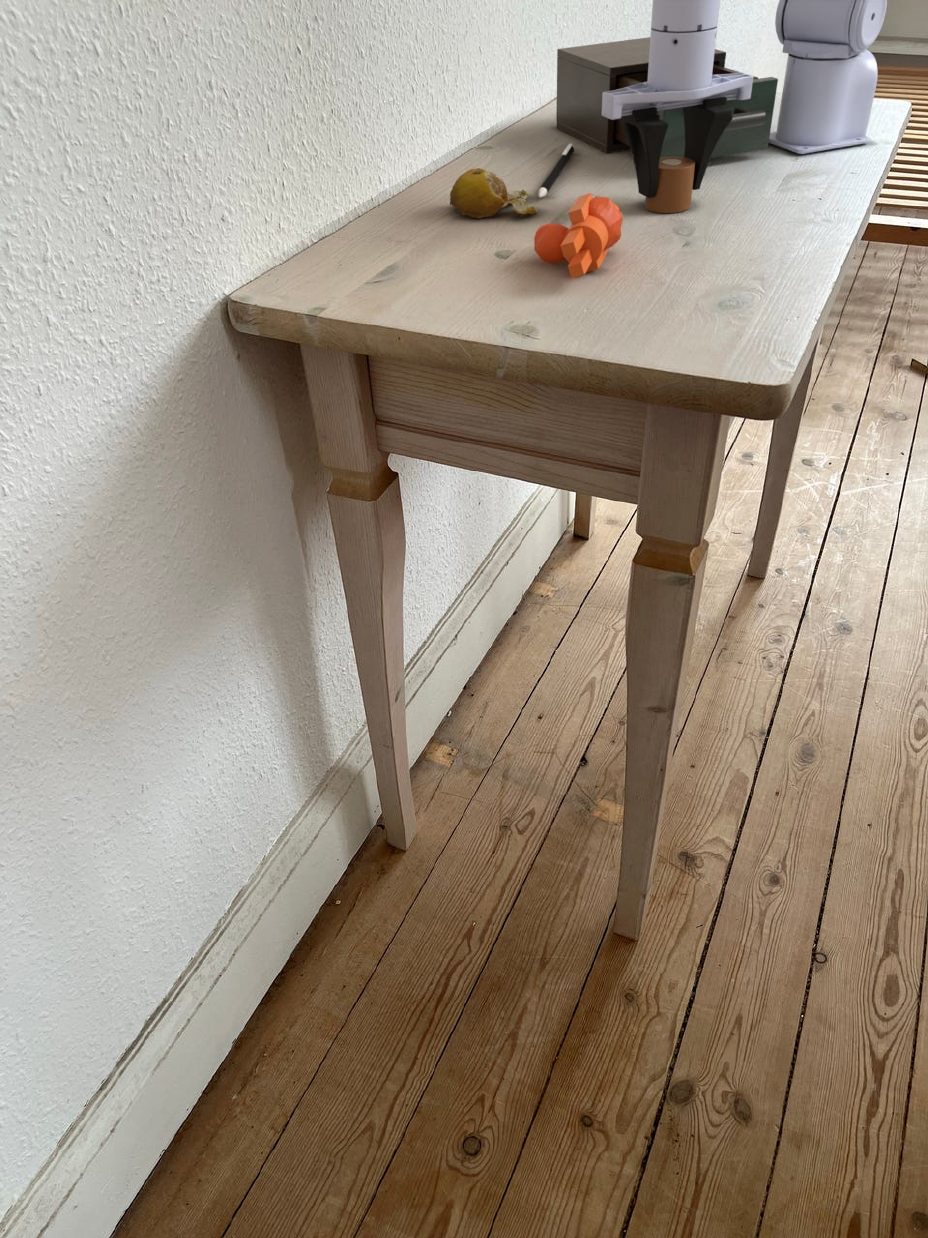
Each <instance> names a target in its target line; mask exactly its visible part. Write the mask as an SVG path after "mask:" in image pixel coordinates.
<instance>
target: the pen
mask: <svg viewBox="0 0 928 1238" xmlns="http://www.w3.org/2000/svg"><path fill="white" fill-rule="evenodd" d="M575 150H576V149H575V145H574V144H573V143H568V144H567V146H566V147H565V149H564V150H563V152H562V153H561V156H560V158H559V159H558V161H557V162H556V164H555V165H554V167H553V168H552V170H551V171H550V173H549V174H548V175H547V177H546V178H545V180H544V181H543V183H542V184H541V186H540V188H539V189H538V198H539V199H541V198H543V197H546V195H548V193H549V191H551V188H552V187H553V185H554V184H555V182H556V180H557V179H558V178H559V176H560V174H561V173H562V171H563V170H564V169H565V167H566V165H567V163H568V162H569V160H570V159H571V157H572V156H573V154H574V153H575Z"/></svg>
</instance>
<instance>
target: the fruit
mask: <svg viewBox="0 0 928 1238" xmlns="http://www.w3.org/2000/svg"><path fill="white" fill-rule="evenodd" d="M449 197H450V198H449V205H450V206H452V207H453V208H455V209H457V211H458V212H459V213H461V216H464V215H468V216H470V217H471V218H476V219H479V220H482V218H488V217H490V218H493V217H494V216H495V215H496V214H497V213H498V211H499V210H500V209H502V208H505V207H506V206H508V205H509V204H511V205H512V210H513V212H514V213H515V214H516V216H517V217H518V218H521V216H525V215H527V214H529V215H535V214H537V213H538V211H537V209H536V208H535V207H534V206H533V205H532V206H529V205H528V202H527V197H528V193H527V191H526V190H524V189H522V190H514V191H509V192H508V189H507V186H506V184H505V182H504V180H503V179H502V178H500V177H499V176H498V175H496V174H495V172H491V171H487V170H486V169H484V168H480V167H476V168H471V169H468V170H467V171H465V172H464V173H463V174H461V175H460V176H459V177H458V178H457V179H456V181H455V183H454V184H453V186H452V189H451V191H450V194H449Z"/></svg>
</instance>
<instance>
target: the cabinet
mask: <svg viewBox="0 0 928 1238" xmlns="http://www.w3.org/2000/svg"><path fill="white" fill-rule="evenodd" d="M649 51H650V36H649V37H648V36H647V37H642V38H641V37H640V38H633V39H625V40H617V41H609V42H608V41H607V42H601V43H593V44H586V45H578V46H577V45H576V46H570V47H562V48H557V49H556V109H555V110H556V117H555V118H556V119H555V121H556V124H555V128H556V129H557V130H559V131H561V132H563V133H565V134H567V135H570V136H571V137H573V138H575V139H578V140H580V141H582V142H583V143H585V144H588V145H589V146H591V147H593V148H595V149H598V150H600V151H601V152H603V153H606V154H609V153H616V152H623V151H629V150H631V149H630V146H629V145H627V144H624V143H622V142H620V141H618V140H616V139H614V138H613V131H614V120H611V119H609V118H606V117H604V116H602V95H603V92H607V91H612V90H616V75H620V74H628V73H635V72H642V71H648V66H649ZM726 58H727V52H726V51H723V50H721V49H716V48H715V52H714V62H713V64H714V65H718V66H721V67H725V66H726V60H727V59H726ZM725 68H726V67H725Z"/></svg>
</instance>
